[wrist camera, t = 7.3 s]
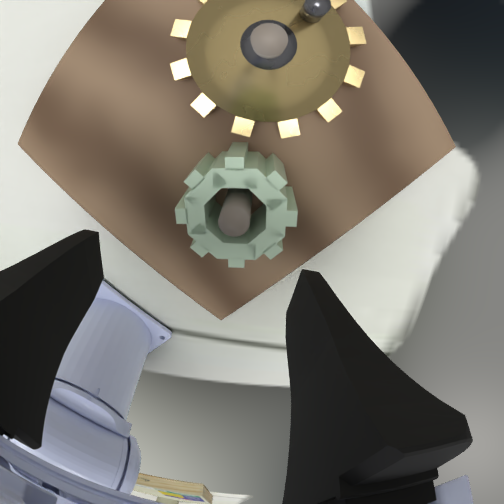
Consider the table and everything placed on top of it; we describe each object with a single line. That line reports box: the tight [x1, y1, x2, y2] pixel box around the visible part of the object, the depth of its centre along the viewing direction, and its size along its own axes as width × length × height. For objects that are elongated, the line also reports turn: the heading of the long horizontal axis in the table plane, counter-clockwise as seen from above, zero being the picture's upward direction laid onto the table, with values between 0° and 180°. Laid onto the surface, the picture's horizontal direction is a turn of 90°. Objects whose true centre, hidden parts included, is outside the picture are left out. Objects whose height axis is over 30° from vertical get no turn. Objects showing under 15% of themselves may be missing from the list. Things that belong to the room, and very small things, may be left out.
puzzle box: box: [133, 473, 213, 504], centre depth 67 cm, size 36×5×24 cm
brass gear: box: [170, 0, 366, 138], centre depth 10 cm, size 9×9×4 cm
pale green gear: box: [175, 142, 298, 268], centre depth 15 cm, size 6×6×3 cm
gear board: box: [18, 0, 456, 320], centre depth 13 cm, size 20×20×5 cm
